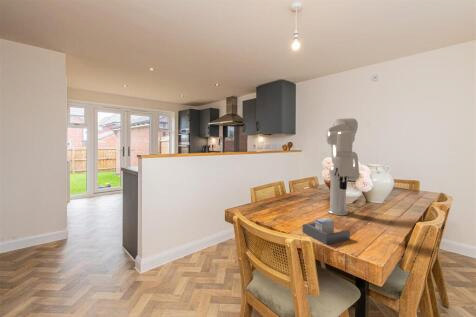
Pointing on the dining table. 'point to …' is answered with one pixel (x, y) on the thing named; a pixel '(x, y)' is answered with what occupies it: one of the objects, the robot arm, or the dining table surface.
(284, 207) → the dining table surface
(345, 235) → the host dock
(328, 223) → the medicine box
